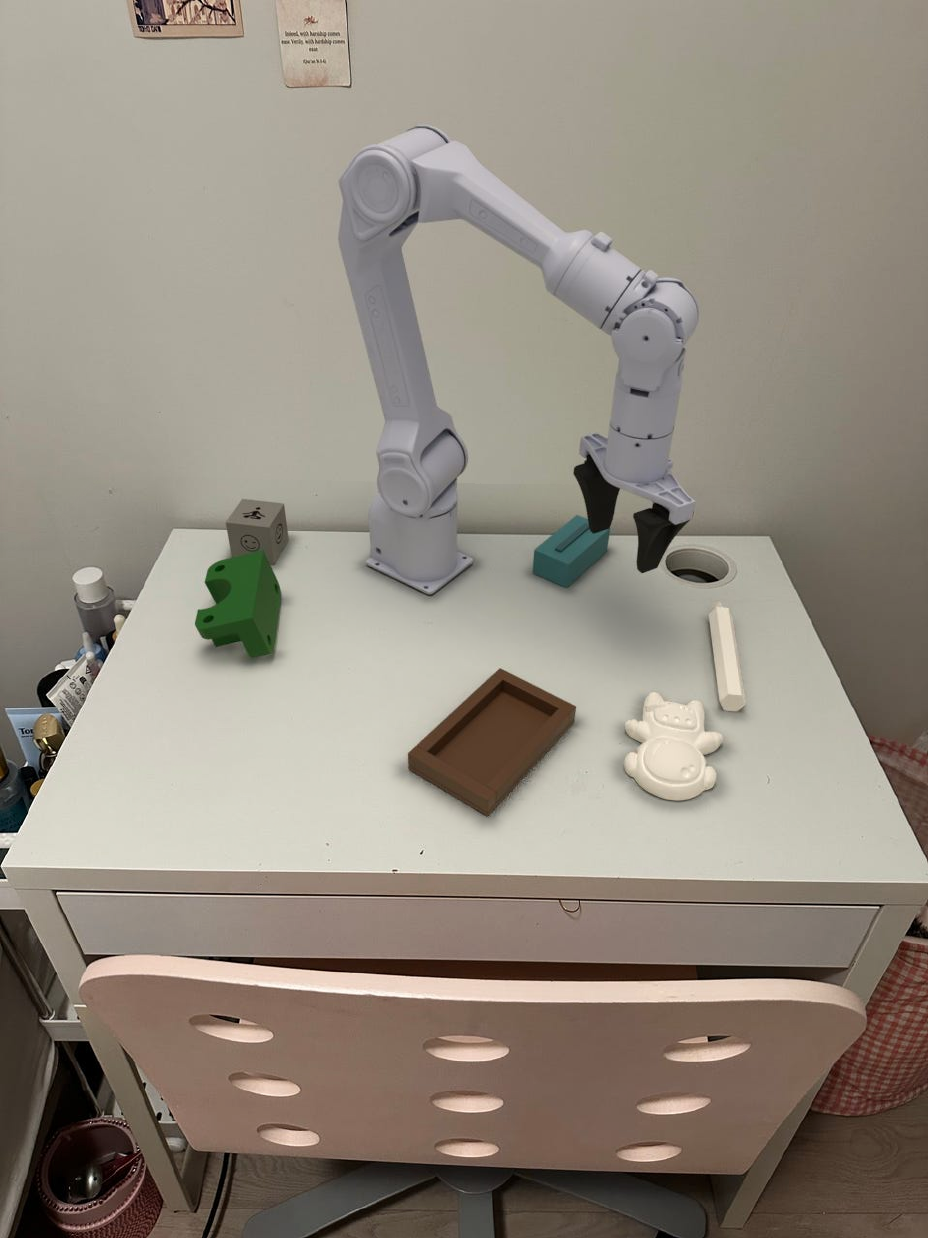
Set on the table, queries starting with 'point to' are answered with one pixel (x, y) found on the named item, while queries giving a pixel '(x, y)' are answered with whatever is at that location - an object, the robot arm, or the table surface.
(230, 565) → the clamp
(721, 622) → the marker
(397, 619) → the table surface
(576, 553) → the teal rectangular block
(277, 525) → the dice cube
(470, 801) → the frame
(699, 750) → the cream flat figure
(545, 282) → the robot arm
